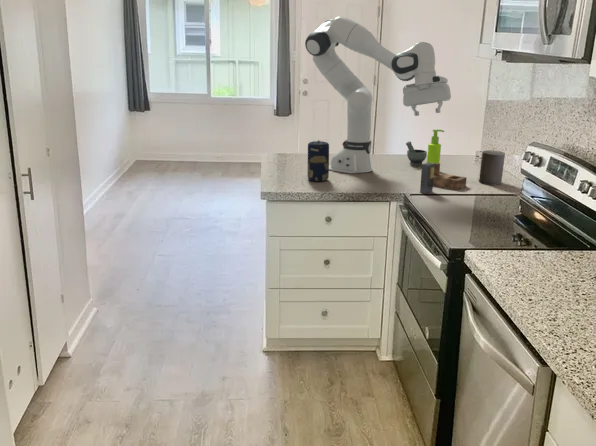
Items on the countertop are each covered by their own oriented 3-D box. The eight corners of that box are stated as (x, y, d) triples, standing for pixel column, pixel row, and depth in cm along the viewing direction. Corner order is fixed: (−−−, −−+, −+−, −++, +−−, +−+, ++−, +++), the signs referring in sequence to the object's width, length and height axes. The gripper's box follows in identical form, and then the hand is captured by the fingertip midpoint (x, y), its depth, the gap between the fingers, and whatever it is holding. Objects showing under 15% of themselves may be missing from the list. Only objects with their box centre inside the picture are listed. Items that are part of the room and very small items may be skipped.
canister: (331, 178, 270) (332, 139, 264) (323, 183, 262) (324, 142, 256) (312, 176, 274) (313, 137, 268) (303, 181, 265) (304, 141, 260)
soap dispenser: (441, 172, 284) (444, 130, 278) (426, 172, 285) (429, 130, 279) (440, 170, 289) (444, 129, 283) (426, 169, 290) (429, 128, 284)
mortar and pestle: (420, 162, 307) (422, 139, 304) (429, 166, 299) (431, 142, 295) (400, 163, 304) (402, 140, 300) (408, 167, 296) (410, 143, 292)
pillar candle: (475, 182, 265) (479, 149, 260) (483, 178, 272) (487, 146, 267) (497, 186, 259) (501, 152, 254) (504, 182, 267) (508, 149, 262)
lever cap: (420, 192, 247) (422, 164, 244) (425, 190, 251) (427, 162, 247) (428, 194, 245) (430, 165, 241) (434, 191, 249) (436, 163, 245)
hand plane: (426, 184, 261) (427, 164, 259) (434, 181, 267) (436, 161, 264) (457, 189, 252) (459, 169, 249) (465, 186, 258) (467, 166, 255)
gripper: (399, 84, 254) (401, 116, 255) (445, 76, 243) (447, 110, 244) (405, 86, 260) (407, 118, 260) (451, 78, 248) (452, 111, 249)
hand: (427, 114), depth 252 cm, fingers open, 8 cm apart
